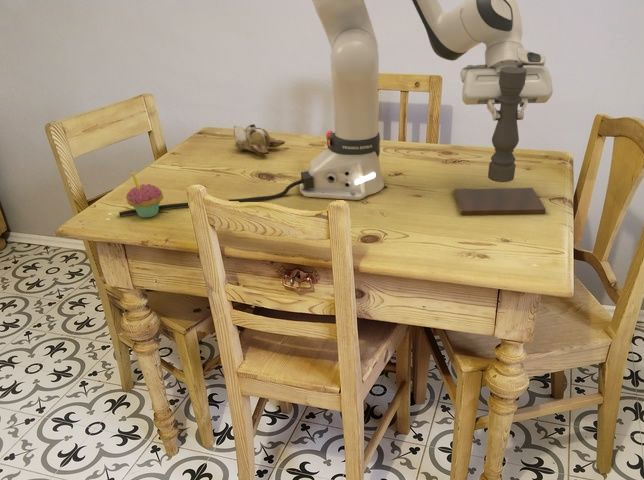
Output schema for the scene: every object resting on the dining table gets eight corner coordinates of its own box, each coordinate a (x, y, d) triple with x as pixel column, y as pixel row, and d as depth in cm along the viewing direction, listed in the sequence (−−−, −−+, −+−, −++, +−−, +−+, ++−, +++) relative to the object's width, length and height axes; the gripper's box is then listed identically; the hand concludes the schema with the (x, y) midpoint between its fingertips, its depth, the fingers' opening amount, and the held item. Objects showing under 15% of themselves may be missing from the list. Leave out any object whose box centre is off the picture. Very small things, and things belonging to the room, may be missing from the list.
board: (461, 215, 145) (461, 210, 144) (454, 193, 156) (454, 189, 155) (544, 213, 144) (545, 209, 144) (531, 192, 155) (532, 187, 155)
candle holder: (514, 183, 143) (528, 73, 129) (487, 181, 144) (498, 73, 130) (513, 173, 148) (527, 67, 134) (488, 172, 149) (498, 66, 136)
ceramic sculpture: (243, 115, 187) (285, 123, 182) (245, 142, 192) (286, 151, 187) (223, 125, 179) (266, 134, 174) (226, 153, 184) (268, 163, 179)
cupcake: (147, 223, 145) (136, 176, 138) (123, 216, 149) (111, 169, 142) (173, 210, 151) (163, 164, 144) (149, 203, 155) (139, 158, 148)
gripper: (462, 57, 138) (465, 113, 135) (552, 55, 137) (557, 111, 134) (458, 73, 144) (460, 126, 141) (544, 71, 143) (548, 124, 141)
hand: (508, 119), depth 138 cm, fingers closed on candle holder, 4 cm apart
